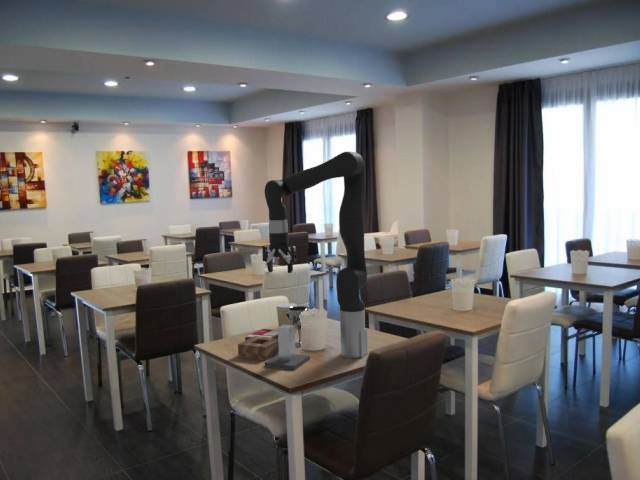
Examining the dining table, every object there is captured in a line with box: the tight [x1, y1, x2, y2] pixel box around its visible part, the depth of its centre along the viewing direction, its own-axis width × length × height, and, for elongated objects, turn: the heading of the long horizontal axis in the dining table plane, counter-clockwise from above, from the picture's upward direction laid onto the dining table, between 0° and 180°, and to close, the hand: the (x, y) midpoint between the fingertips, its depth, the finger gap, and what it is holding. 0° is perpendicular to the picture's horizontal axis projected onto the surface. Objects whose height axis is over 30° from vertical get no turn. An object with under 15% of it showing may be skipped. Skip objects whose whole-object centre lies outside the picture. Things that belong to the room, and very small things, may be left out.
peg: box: [277, 325, 297, 362], centre depth 193 cm, size 4×4×12 cm
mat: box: [264, 353, 311, 371], centre depth 193 cm, size 12×12×2 cm
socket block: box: [237, 336, 279, 361], centre depth 205 cm, size 12×12×5 cm
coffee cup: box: [276, 302, 298, 334], centre depth 236 cm, size 9×9×12 cm
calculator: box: [244, 328, 278, 341], centre depth 222 cm, size 11×4×15 cm
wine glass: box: [289, 305, 310, 348], centre depth 215 cm, size 8×8×15 cm
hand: (280, 272), depth 211 cm, fingers open, 8 cm apart
